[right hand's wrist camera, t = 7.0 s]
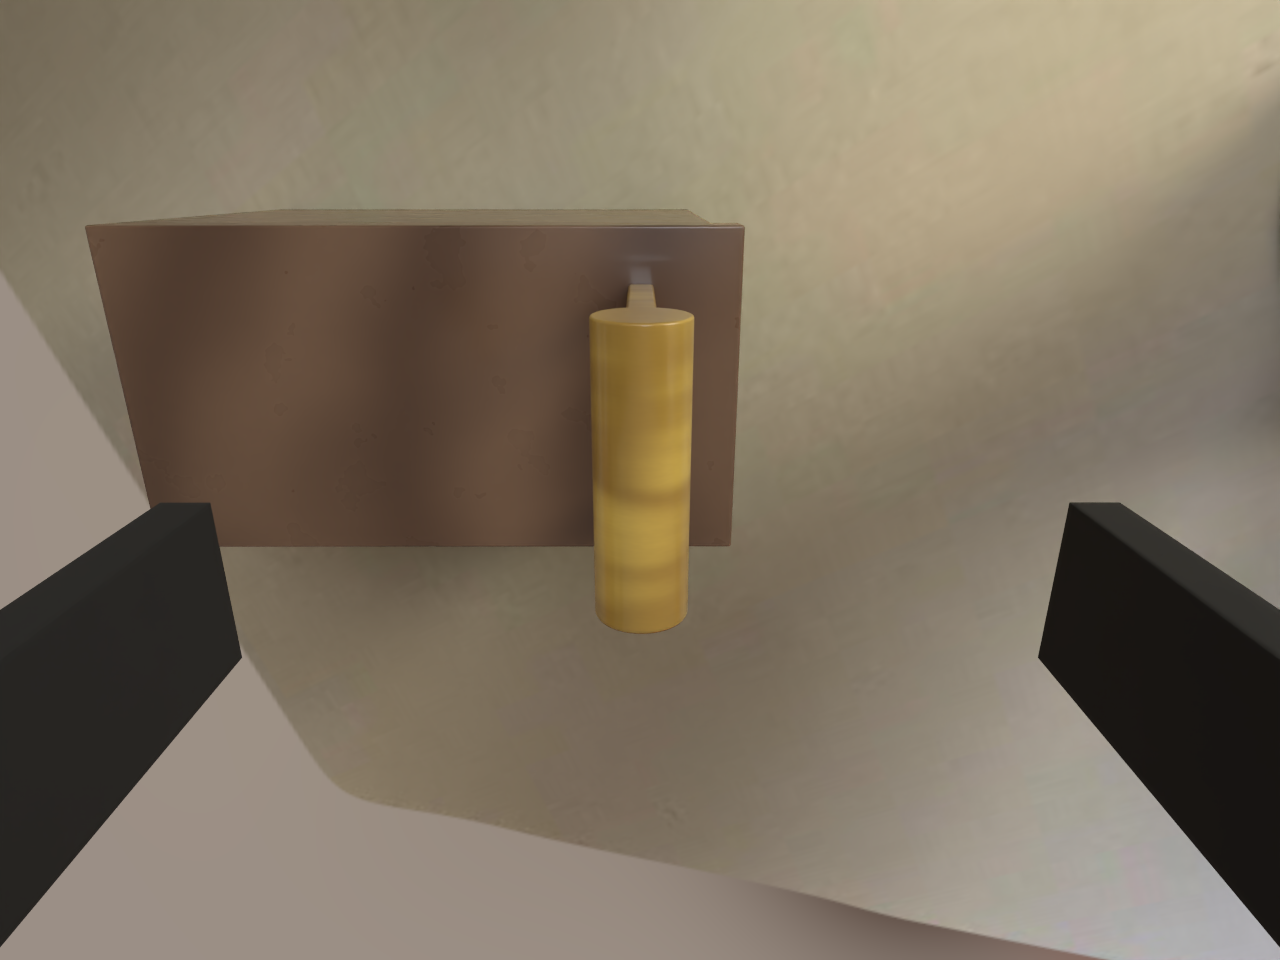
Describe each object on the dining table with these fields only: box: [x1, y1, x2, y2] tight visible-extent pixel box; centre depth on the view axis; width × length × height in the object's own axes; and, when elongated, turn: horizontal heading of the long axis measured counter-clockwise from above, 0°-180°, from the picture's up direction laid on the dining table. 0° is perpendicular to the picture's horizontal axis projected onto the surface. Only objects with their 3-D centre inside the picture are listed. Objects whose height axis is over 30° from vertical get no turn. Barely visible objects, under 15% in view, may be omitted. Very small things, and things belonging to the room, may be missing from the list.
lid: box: [85, 223, 745, 634], centre depth 20 cm, size 18×10×8 cm, turn 90°
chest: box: [122, 210, 709, 223], centre depth 29 cm, size 17×10×11 cm, turn 90°
